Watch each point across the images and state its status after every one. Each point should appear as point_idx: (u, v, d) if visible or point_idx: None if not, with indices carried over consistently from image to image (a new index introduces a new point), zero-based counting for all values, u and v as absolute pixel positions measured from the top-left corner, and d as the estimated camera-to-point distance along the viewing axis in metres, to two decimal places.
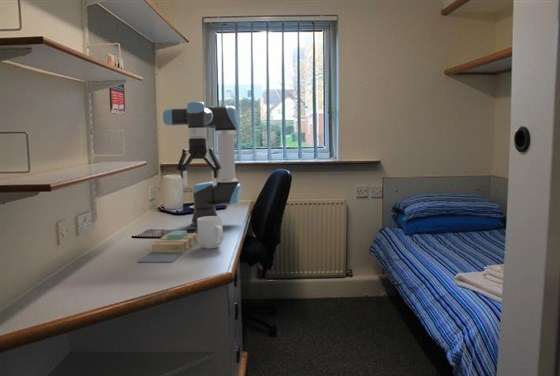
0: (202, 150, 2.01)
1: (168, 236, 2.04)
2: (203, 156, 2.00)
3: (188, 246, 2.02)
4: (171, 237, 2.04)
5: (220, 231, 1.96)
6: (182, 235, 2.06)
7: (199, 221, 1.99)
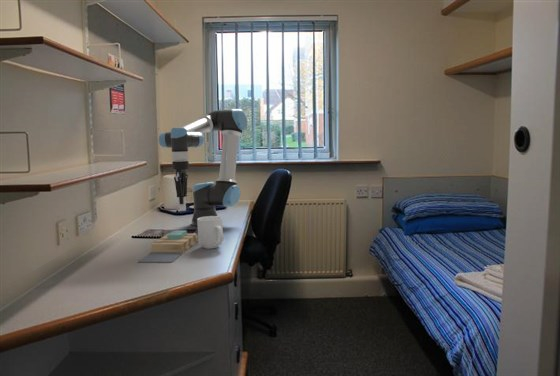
0: None
1: (168, 236, 2.04)
2: None
3: (188, 246, 2.02)
4: (171, 237, 2.04)
5: (220, 231, 1.96)
6: (182, 235, 2.06)
7: (199, 221, 1.99)
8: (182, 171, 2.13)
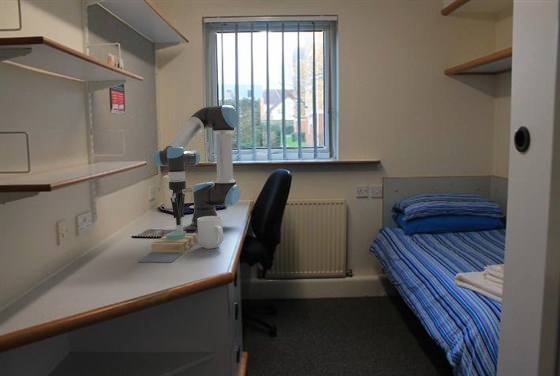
0: None
1: (167, 237, 2.03)
2: None
3: (188, 246, 2.02)
4: (170, 238, 2.02)
5: (220, 231, 1.96)
6: (181, 236, 2.05)
7: (199, 221, 1.99)
8: (179, 191, 2.09)
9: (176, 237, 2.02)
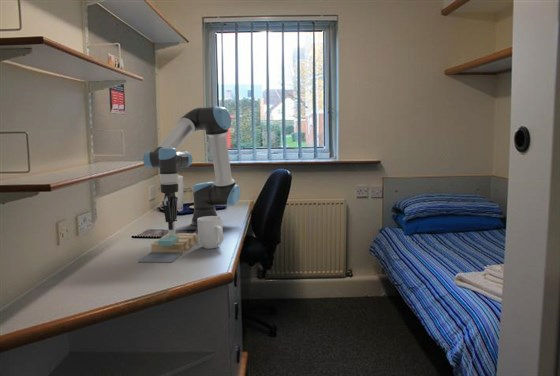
0: None
1: (159, 242, 1.93)
2: None
3: (188, 246, 2.02)
4: (162, 243, 1.93)
5: (220, 231, 1.96)
6: (174, 241, 1.95)
7: (199, 221, 1.99)
8: (171, 194, 1.99)
9: (168, 243, 1.92)
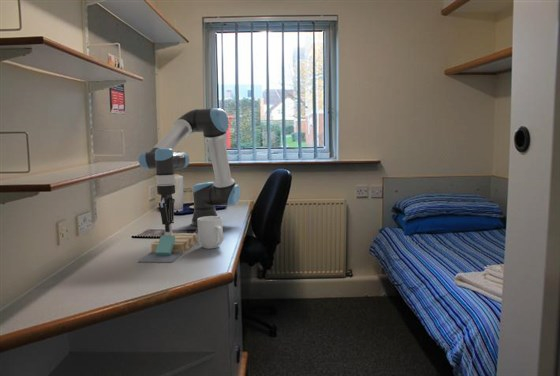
0: None
1: (157, 253, 1.90)
2: None
3: (188, 246, 2.02)
4: (160, 254, 1.90)
5: (220, 231, 1.96)
6: (171, 248, 1.92)
7: (199, 221, 1.99)
8: (168, 196, 1.95)
9: (166, 253, 1.90)
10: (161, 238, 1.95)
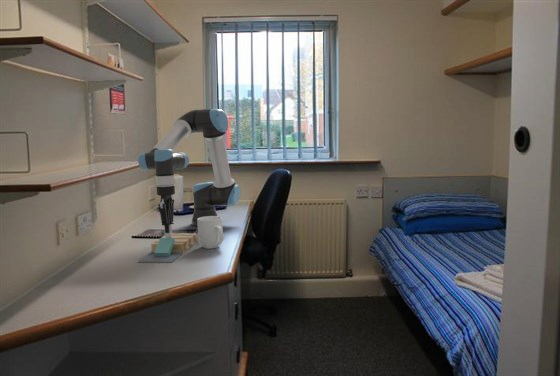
0: None
1: (155, 254, 1.89)
2: None
3: (188, 246, 2.02)
4: (159, 254, 1.89)
5: (220, 231, 1.96)
6: (170, 249, 1.91)
7: (199, 221, 1.99)
8: (167, 197, 1.94)
9: (165, 254, 1.89)
10: (160, 240, 1.95)
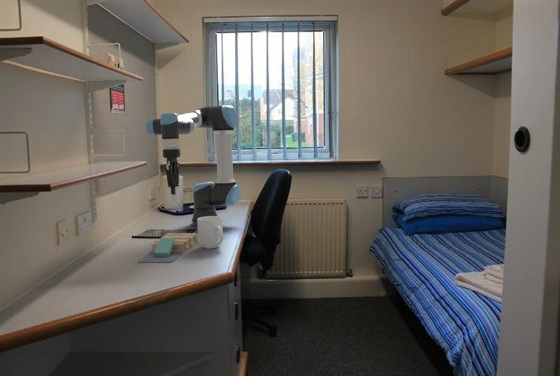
0: None
1: (155, 254, 1.89)
2: None
3: (188, 246, 2.02)
4: (159, 254, 1.89)
5: (220, 231, 1.96)
6: (170, 249, 1.91)
7: (199, 221, 1.99)
8: (173, 159, 2.02)
9: (165, 254, 1.89)
10: (160, 240, 1.95)
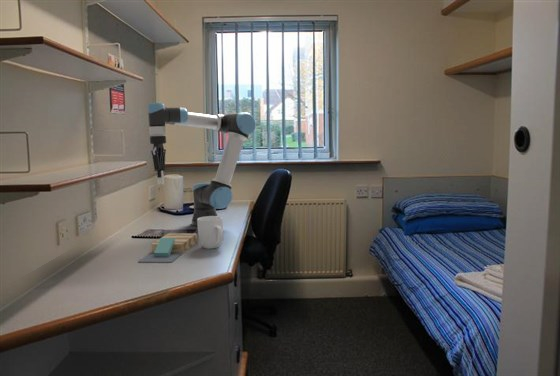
0: None
1: (155, 254, 1.89)
2: None
3: (188, 246, 2.02)
4: (159, 254, 1.89)
5: (220, 231, 1.96)
6: (170, 249, 1.91)
7: (199, 221, 1.99)
8: (159, 145, 2.20)
9: (165, 254, 1.89)
10: (160, 240, 1.95)
